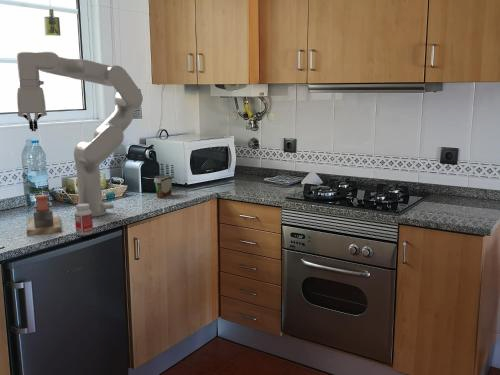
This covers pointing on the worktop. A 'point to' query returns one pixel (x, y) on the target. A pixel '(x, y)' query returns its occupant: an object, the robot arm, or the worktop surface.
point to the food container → (163, 186)
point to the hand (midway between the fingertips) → (33, 131)
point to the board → (43, 222)
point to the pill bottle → (83, 220)
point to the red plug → (42, 202)
